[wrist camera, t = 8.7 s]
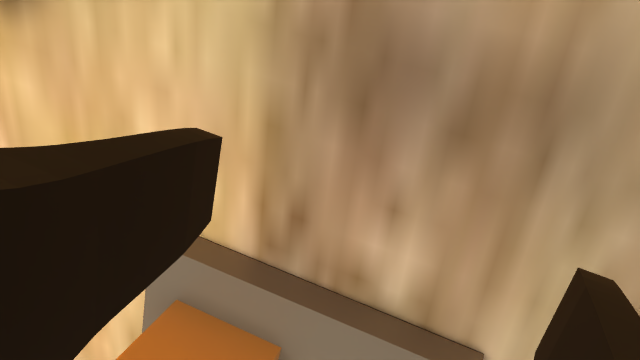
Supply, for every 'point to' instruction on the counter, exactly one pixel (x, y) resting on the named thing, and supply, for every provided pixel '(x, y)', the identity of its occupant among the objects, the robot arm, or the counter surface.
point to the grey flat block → (289, 311)
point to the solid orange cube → (197, 339)
